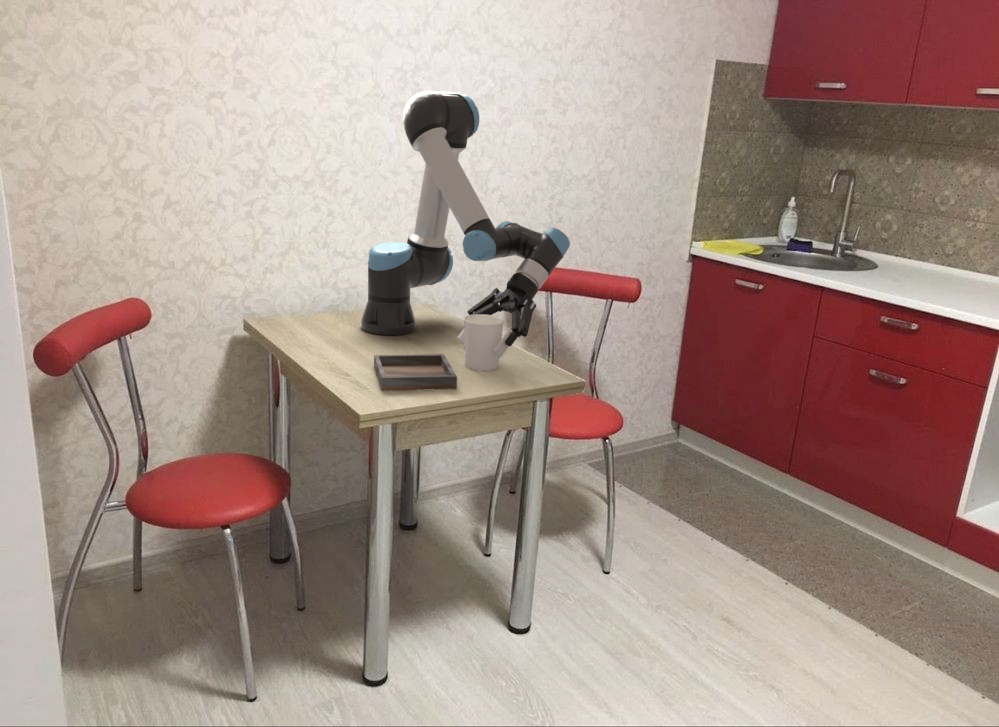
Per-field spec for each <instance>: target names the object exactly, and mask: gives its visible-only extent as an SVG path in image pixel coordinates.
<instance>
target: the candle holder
mask: <svg viewBox="0 0 999 727" xmlns="http://www.w3.org/2000/svg"><path fill="white" fill-rule="evenodd" d="M463 323H464V324H463V329H464V344H463V345H464V366H465V367H466V368H467V369H469V370H473V371H479V372H489V371H490V370H491V371H494V370H496V369H497V368H499V362H500V358H499V357H498V356H497V355H496V354H495V353H494V351H493V350H494V349H495V348H496V346H497V345H498V344H499V342H500V341H501V339H502V338H503V332H504V331H503V330H504V323H505V320H504V318H503V317H500V316H498V315H494V314H492V315H486V314H475V315H469V314H468V315H466V316H465V317H464V318H463ZM491 371H490V372H491Z"/></svg>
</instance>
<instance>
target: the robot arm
mask: <svg viewBox="0 0 999 727" xmlns="http://www.w3.org/2000/svg"><path fill="white" fill-rule="evenodd" d="M402 119H403V128H404V129H403V130H404V132H405V136H406V137H407V139H408V142H409V144H410V146H411V147H412V149H413V150H414V152H419V154H420V155H421V157H422V159H423V161H424V162H425V164H424V171H423V177H422V183H421V189H420V195H419V201H418V208H417V214H416V220H415V226H414V230H413V231H412V232H411V233H409V234H408V236H407V242H406V243H405V242H400V241H399V242H398V241H392V242H383V243H382V242H381V243H379V244H376V245H374V246H372V247H371V248H370V250H369V252H368V260H367V278H368V279H367V302H366V305H365V309H364V312H363V313H362V317H361V320H360V322H361V324H360V328H361V329H362V331H364V332H367V333H370V334H374V335H380V336H381V335H383V336H399V335H400V336H401V335H405V334H406V335H407V334H410V333H412V332H414V331H416V327H417V326H416V325H417V324H416V322H417V321H416V318H415V315H414V314H415V313H414V311H413V308H412V304H411V289H415V288H419V287H420V288H421V287H425V286H433V285H436V284H438V283H441V282H443V281H445V280H446V279H447V278H448V277H449V275H450V274H451V272H452V270H453V266H454V256H453V255H452V251H451V248H450V247H449V244H450V243H449V241H448V240H447V238H446V236H445V235H446V229H447V225H448V217H449V212H450V211H451V213H452V214H453V216H454V218H455V219H456V222H457V224H458V225H459V227H460V229H461V231H462V233H463V235H464V237H463V240H462V248H463V249H462V250H463V253H464V255H465V256H466V258H468V259H469V260H470V261H473V262H487V261H490V260H494V259H499V258H506V257H507V258H508V257H512V256H513V257H514V256H517V257H519V258H522V259H523V260H522V262H521V263H520V265H519V266H518V267H517V268H516V270H515V273H513V274H512V276H511V277H510V278H509V280H508V281H507V283H506V288H505V289H504V291H501V290H500V289H499V288H498V287H495V288H494V289H493V290H492V291H491V292H490V294H487V296H486V297H484V298H483V299H482V300H480V301H479V302H477V303H476V304H475V305H473V306H472V307H471V308H469V309H468V310H467V312H466V313H467V314H468V316H469V315H475V314H486V315H495V314H496V313H498V312H499V313H500V312H507V313H509V314H511V327H510V329H508V330H507V331H506V332H505V334H504V335H503V336H502V339H501V341H500V342H499V344H498V345H497V346H496V348H495V349H494V350H493V351H494V353H495V354H496V355H497V356H498V357H499V359H501V358H502V357H503V356H504V354H505V353H506V352H507V350H508V349H509V347H511V346H512V345H513V344H514V343H515V342H516V340H517V338H519V337H524V338H526V337H528V334H529V330H530V325H531V321H532V317H533V313H534V311H535V309H536V308H537V303H536V302H535V301H534V300H533V299H534V298H535V296H536V295H537V293H538V292H539V290H540V289H541V288H542V287H543V285H544V284H545V282H547V279H548V278H549V276H550V275H551V273H552V272H553V271H554V269H555V268H556V267H557V266H558V264H559V263H560V262H561V261H562V259H564V257H565V256H566V255H565V254H566V253H567V251H568V250H569V249H570V246H571V241H570V239H569V237H568V236H567V235H566V234H565V233H564V232H563V231H562V230H561V229H559V228H557V227H554V226H553V227H548V228H547V229H546V230H545V231H543V233H541V232H539V231H535V230H533V229H530V228H528V227H525V226H523V225H520V224H518V223H516V222H511V221H508V220H504V221H502V222H501V223H500V224H498V225H497V226H496V227H495V225H494V224H493V222H492V220H491V219H490V216H489V214H488V213H487V211H486V209H485V207H484V205H483V204H482V202H481V200H480V198H479V196H478V194H477V192H476V191H475V189H474V187H473V185H472V183H471V182H470V179H469V178H468V176H467V174H466V173H465V171H464V169H463V167H462V166H461V163H460V162H459V158H460V153H462V152H463V151H464V150H466V149H467V145H468V144H467V143H468V139H469V138H472V137H473V136H474V134H476V132H477V131H478V130H479V126H480V113H479V108H478V106H477V105H476V103H475V101H474V99H472V98H471V97H470V96H469V95H467V94H465V93H459V92H454V91H432V90H424V91H420V92H417V93H416V94H414V95H413V96H412V97H410V99H409V100H408V101H407V103H406V105H405V107H404V110H403V117H402ZM522 309H523V310H522ZM457 339H458V340H459V341H460V342H461V343H462V344H463V345H464V328H463V329H462V330H461V331H460V333H459V334H457Z"/></svg>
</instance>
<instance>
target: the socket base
mask: <svg viewBox="0 0 999 727" xmlns="http://www.w3.org/2000/svg"><path fill="white" fill-rule="evenodd" d="M373 368H374V370H375V375H376V377H377V381H378V384H379V387H380V390H381V391H382V390H383V391H384V390H385V391H386V390H392V391H418V390H417V389H435V390H457V387H458V386H457V384H458V376H457V374H456V373H455V371H454V369H453V367H452V366H451V364H450V361H449V360H448V359H447V357H446V356H445V354H444V353H441V354H440V353H439V354H438V353H435V354H433V353H432V354H374V355H373ZM383 391H382V392H383ZM385 391H384V392H385Z"/></svg>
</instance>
